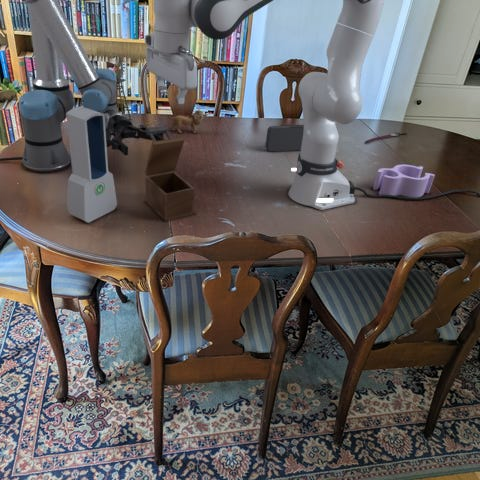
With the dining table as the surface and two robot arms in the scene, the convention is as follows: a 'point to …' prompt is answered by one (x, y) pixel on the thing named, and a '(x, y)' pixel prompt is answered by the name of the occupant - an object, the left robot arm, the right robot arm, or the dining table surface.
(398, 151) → the dining table surface
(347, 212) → the dining table surface
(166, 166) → the lid
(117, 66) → the miniature windmill
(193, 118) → the lion figurine
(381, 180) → the clip
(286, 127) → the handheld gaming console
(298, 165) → the right robot arm
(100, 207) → the electronic device
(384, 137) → the sword
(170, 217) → the chest
